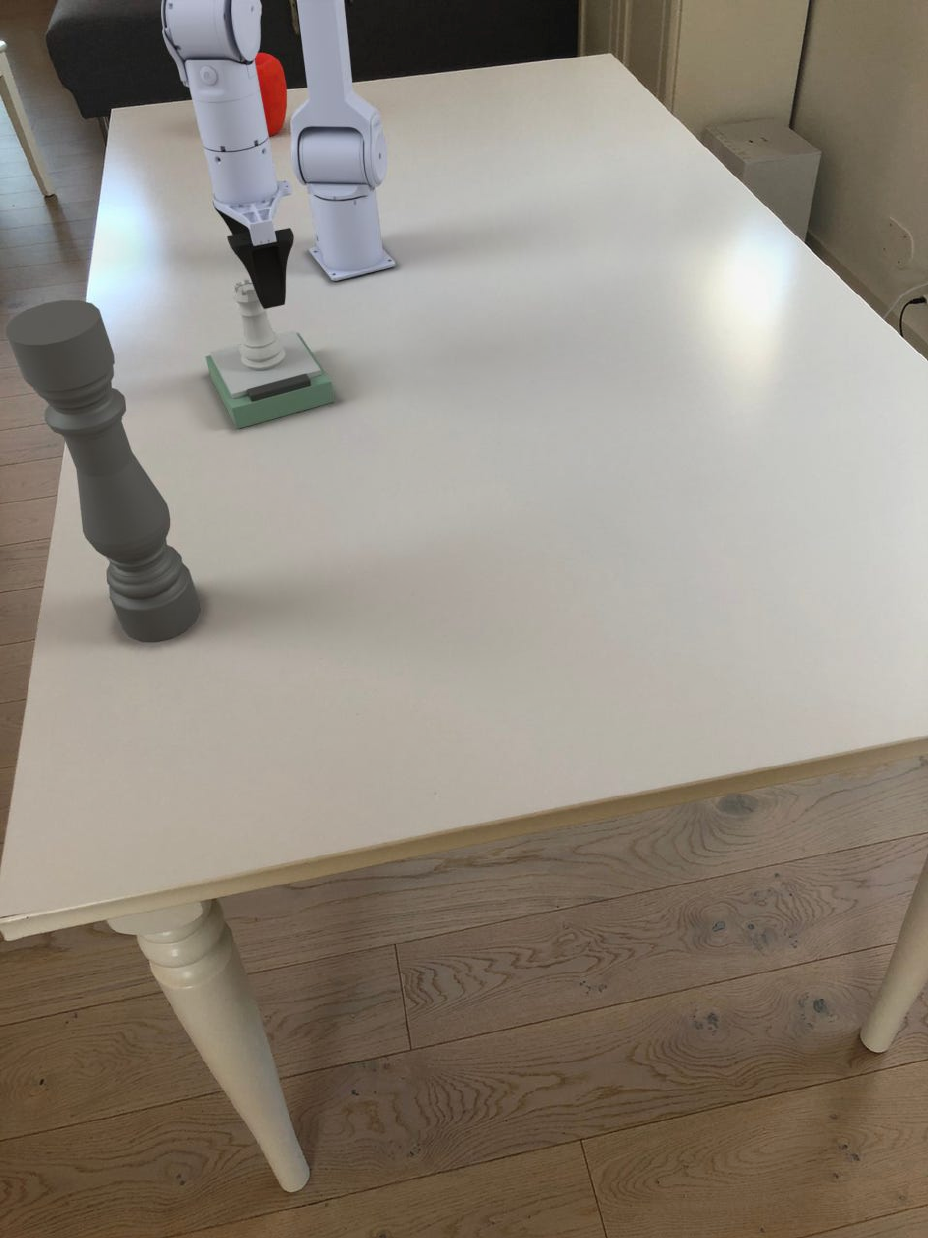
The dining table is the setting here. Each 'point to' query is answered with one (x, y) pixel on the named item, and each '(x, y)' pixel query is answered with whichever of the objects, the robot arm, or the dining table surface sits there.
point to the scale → (270, 383)
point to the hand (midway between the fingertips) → (266, 287)
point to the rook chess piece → (256, 331)
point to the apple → (272, 91)
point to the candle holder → (106, 466)
